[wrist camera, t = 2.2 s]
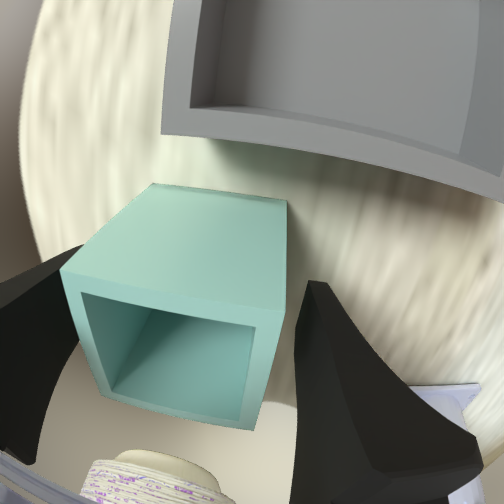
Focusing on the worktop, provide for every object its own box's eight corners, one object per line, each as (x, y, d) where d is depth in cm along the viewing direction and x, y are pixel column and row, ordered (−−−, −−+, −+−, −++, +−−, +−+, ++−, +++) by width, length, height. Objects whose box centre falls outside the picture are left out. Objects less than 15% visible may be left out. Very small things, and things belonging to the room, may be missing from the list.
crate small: (266, 308, 14) (253, 431, 8) (156, 289, 14) (101, 395, 9) (286, 200, 11) (285, 311, 6) (152, 183, 11) (59, 269, 6)
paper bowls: (85, 414, 22) (54, 484, 16) (252, 458, 22) (241, 541, 15) (116, 467, 30) (99, 517, 23) (233, 496, 30) (224, 550, 23)
